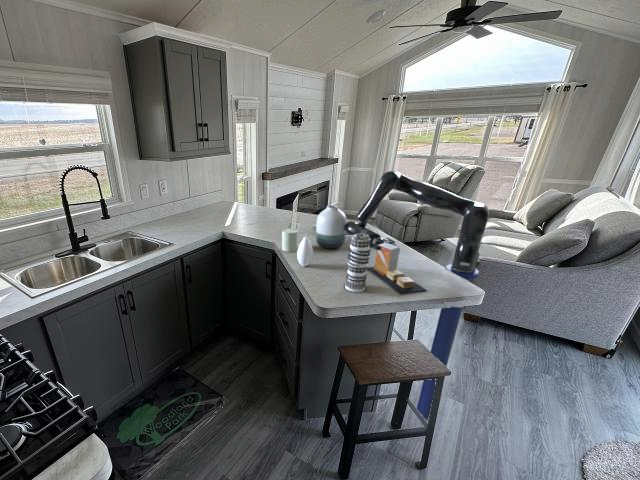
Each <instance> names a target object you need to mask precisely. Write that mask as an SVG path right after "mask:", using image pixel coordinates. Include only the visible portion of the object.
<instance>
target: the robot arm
mask: <svg viewBox="0 0 640 480" xmlns="http://www.w3.org/2000/svg"><path fill="white" fill-rule="evenodd" d="M392 190H394V191H398V192H402V193H404V194H407V196H410V197H411V198H412V199H414V200H416V201H418V202H419V203H422V204H424V205H426V206H429V207H430V208H431V207H432V208H435V209H440V210H445V211H450V212H453V213H456V214H457V215H459V216H461V217H463V219H462V222H461V227H460V230H459V235H458V240H457V242H456V243H457V244H456V247H455V250H454V251H455V252H454V256H453V260H452V263H451V264H452V266H451V268H452V269H453V270H455V271H457V272H461V273H472V272H473V271H475V269H477V267H479V266H480V264H481V260H480V259H479V257H480V252H479V251H480V247H481V244H482V240H483V237H484V234H485V232H486V227H487V224H488V221H489V216H490V212H489V207H488V206H487V205H485V204H484V203H481V202H477V201H474V200H470V199H467V198H463V197H461V196H459V195H457V194H454V193H452V192H449V191H447V190H445V189H442V188H440V187H439V186H435V185H432V184H429V183H426V182H422V181H418V180H414V179H412V178H410V177H408V176H407V175H404V174H402V173H400V172H399V171H396V170H389V171H385V172H384V173H383V174H382V175H381V177H380V179H379V181H378V183H377V185H376V187H375V188H374V190H373V192H372V193H371V195H370V196H369V198H368V199H367V200H366V201H365V203H364V204H363V205H362V206H361V208H360V209H359V210H358V212H357V213H356V216H355V217H356V219H357V220H358V221H359V222H356V221H354V220H349V221H347V222H346V224H345V231H346V233H348V234H349V235H351V236H353V235H354V234H356V233H364V234H367V235H368V236H369V237H370V238H371V240H370V244H369V245H370V247H369V249H375V250H376V251H377V250H380V246H379V245H380V244H383V243H388V244H392V245H395V246H397V243H396V240H394V239H392V238H390V237H385V238H383V237H382V236H381V235H380V234H379V233H378V232H376V231H374V230H372V229H370V228H367V224H368V222H369V220H370V219H371V217H372V216H373V215H374V214H375V212H376V211H377V209H378V208H379V206H380V205H381V203H382V201H383V200H384V199H385V197H386V196H387V195H388V194H389V193H390V192H391V191H392Z"/></svg>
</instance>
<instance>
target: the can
mask: <svg viewBox="0 0 640 480" xmlns="http://www.w3.org/2000/svg"><path fill="white" fill-rule="evenodd" d="M281 233H282V234H281V250H282V251H283V252H287V253H293V252H297V251H298V236H299V235H298V233H299V231H298V229H296V228H284V229H282V230H281Z"/></svg>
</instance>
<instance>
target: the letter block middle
mask: <svg viewBox="0 0 640 480" xmlns="http://www.w3.org/2000/svg"><path fill="white" fill-rule="evenodd" d="M403 275H404V272H402V271H400V270H398V269H396V270H389V271H387V277H388V278H390V279H391V280H392V281H395V280H397V279H398V278H399V277H403Z"/></svg>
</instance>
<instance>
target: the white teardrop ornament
mask: <svg viewBox="0 0 640 480" xmlns="http://www.w3.org/2000/svg"><path fill="white" fill-rule="evenodd" d="M313 249H314V248H313V245H312V243H311V241H310V240H309V237H307V235H305V236H304V237H303V238H302V240H301V241H300V243H299V245H298V246H297V251H296V256H297V261H298V264H299V265H301V266H302V267H307V266H309V265H310V264H311V263H312V261H313V259H314V250H313Z"/></svg>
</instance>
